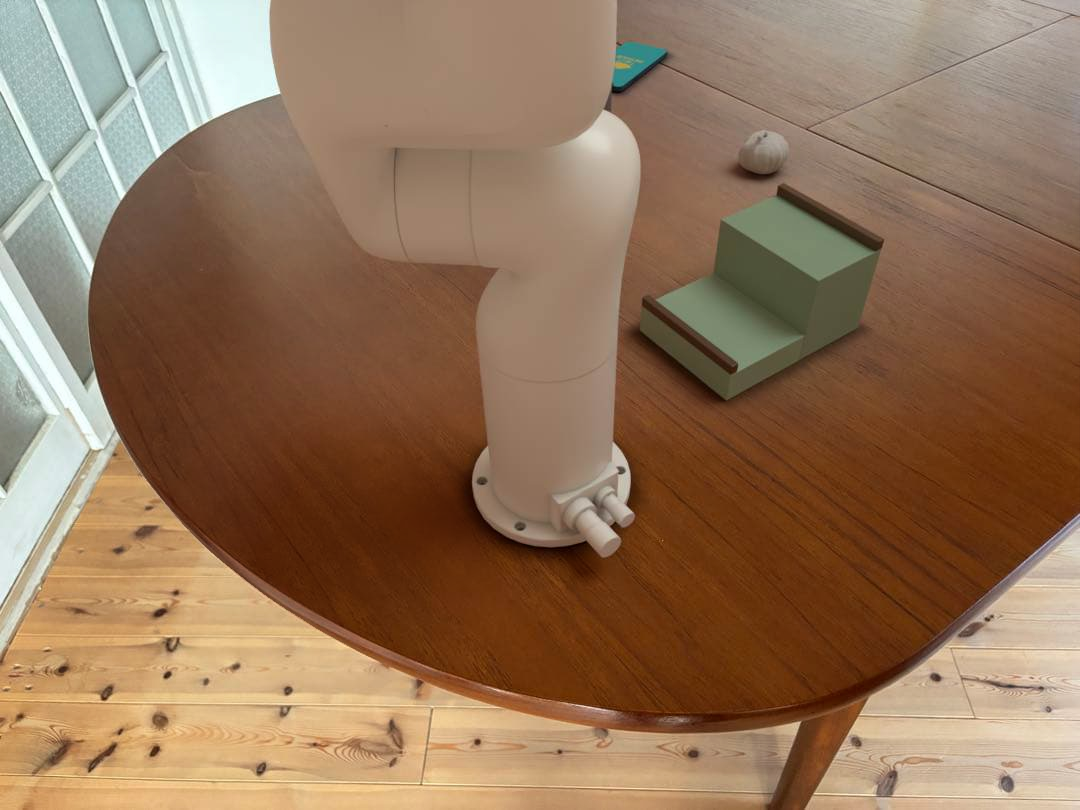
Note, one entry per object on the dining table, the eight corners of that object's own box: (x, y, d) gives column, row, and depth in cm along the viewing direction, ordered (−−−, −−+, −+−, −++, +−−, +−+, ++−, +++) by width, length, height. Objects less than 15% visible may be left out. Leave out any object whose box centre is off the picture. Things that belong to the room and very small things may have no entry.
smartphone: (670, 49, 128) (621, 86, 119) (669, 54, 128) (621, 92, 119) (626, 40, 131) (576, 76, 122) (626, 46, 131) (576, 82, 122)
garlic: (752, 185, 101) (758, 144, 97) (728, 165, 105) (733, 124, 101) (795, 175, 102) (803, 134, 99) (770, 154, 106) (777, 114, 102)
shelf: (858, 328, 82) (884, 239, 75) (726, 400, 75) (741, 310, 68) (767, 268, 89) (783, 182, 82) (639, 330, 82) (645, 242, 75)
